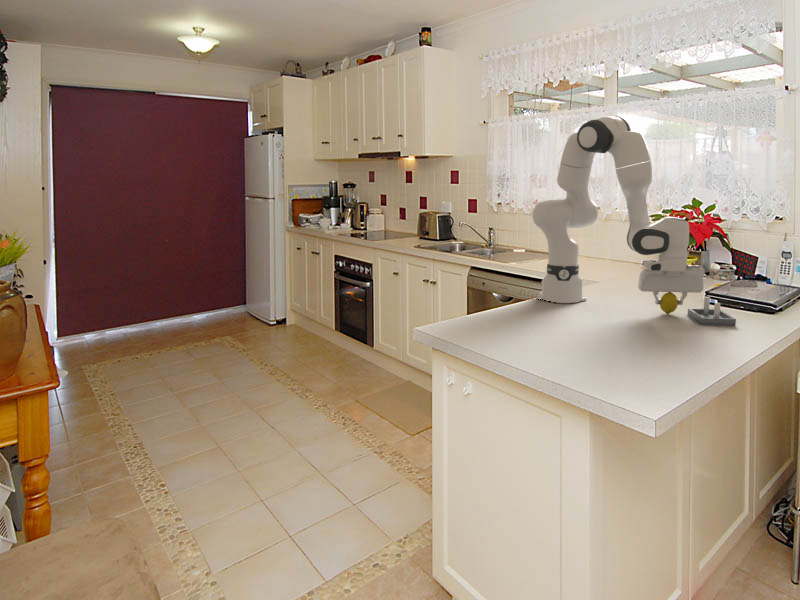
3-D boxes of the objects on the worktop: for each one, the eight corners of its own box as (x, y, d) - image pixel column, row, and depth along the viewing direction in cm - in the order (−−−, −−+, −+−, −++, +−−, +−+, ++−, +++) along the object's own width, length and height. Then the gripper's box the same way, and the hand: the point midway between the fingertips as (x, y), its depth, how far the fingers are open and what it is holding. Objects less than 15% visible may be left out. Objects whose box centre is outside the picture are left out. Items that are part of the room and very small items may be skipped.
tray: (687, 315, 189) (689, 295, 188) (719, 316, 188) (721, 296, 186) (700, 325, 176) (702, 304, 175) (735, 326, 174) (737, 305, 173)
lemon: (660, 315, 190) (662, 293, 188) (657, 312, 195) (659, 290, 193) (678, 316, 188) (680, 293, 187) (674, 312, 194) (676, 290, 192)
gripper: (702, 263, 189) (698, 303, 192) (638, 263, 193) (635, 301, 196) (708, 266, 183) (704, 307, 186) (642, 265, 187) (639, 305, 190)
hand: (668, 304), depth 191 cm, fingers closed on lemon, 6 cm apart
